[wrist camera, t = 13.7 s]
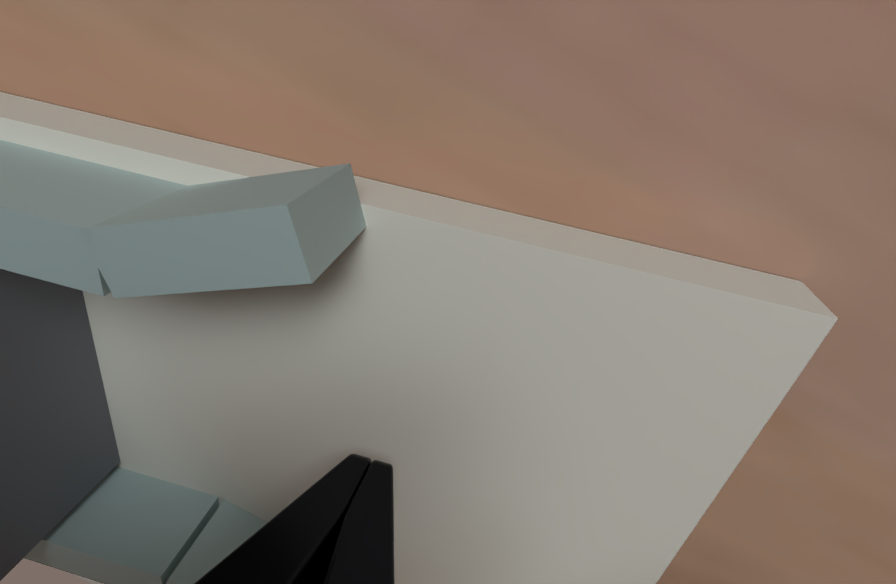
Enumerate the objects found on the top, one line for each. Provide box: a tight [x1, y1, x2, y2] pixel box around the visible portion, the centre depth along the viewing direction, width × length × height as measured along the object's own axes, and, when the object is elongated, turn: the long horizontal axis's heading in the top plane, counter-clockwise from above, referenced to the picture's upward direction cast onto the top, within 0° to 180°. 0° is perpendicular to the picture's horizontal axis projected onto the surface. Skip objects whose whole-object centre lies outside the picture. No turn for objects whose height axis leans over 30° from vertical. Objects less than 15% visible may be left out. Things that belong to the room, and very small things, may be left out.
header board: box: [0, 92, 838, 584], centre depth 9 cm, size 18×11×4 cm, turn 80°
